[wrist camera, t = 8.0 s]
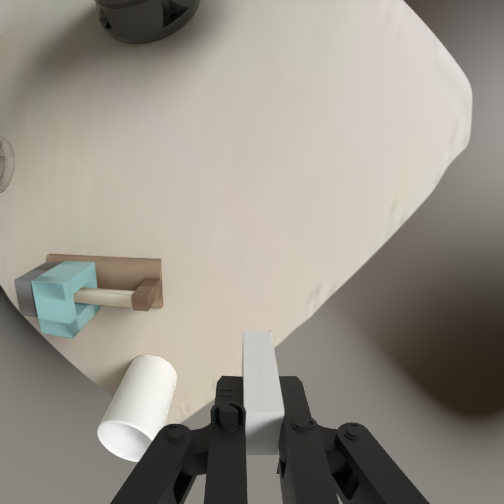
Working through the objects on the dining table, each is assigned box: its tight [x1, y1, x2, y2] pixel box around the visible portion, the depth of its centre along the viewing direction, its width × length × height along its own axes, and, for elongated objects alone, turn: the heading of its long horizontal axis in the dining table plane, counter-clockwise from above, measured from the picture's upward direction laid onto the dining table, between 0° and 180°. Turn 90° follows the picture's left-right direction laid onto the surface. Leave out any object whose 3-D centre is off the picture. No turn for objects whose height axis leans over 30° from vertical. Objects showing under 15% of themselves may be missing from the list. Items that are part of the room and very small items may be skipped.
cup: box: [97, 355, 177, 462], centre depth 40 cm, size 8×8×16 cm
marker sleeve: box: [31, 261, 100, 338], centre depth 36 cm, size 7×5×9 cm
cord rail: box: [14, 254, 163, 317], centre depth 39 cm, size 7×19×10 cm, turn 87°
